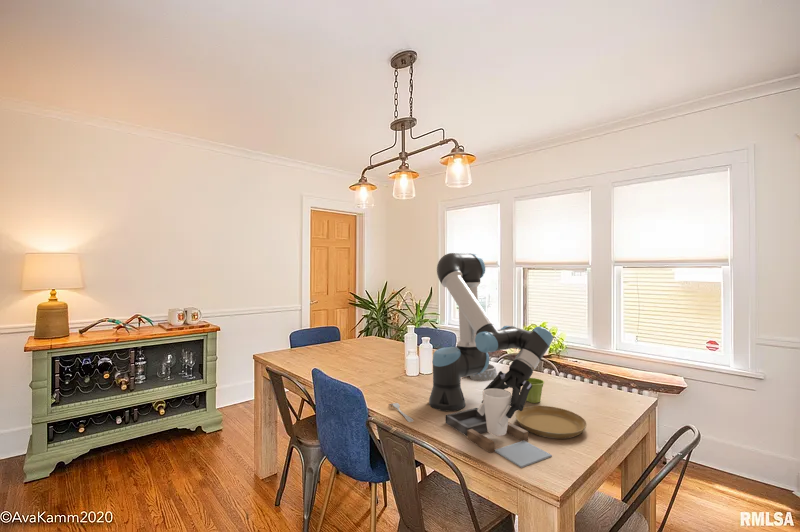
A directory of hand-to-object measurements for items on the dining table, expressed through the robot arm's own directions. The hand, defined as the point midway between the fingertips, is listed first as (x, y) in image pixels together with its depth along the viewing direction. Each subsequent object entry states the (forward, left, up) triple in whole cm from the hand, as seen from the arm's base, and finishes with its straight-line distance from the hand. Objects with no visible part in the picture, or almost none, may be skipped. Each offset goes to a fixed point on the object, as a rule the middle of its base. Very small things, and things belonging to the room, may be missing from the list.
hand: (489, 418), depth 123 cm
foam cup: (0, +3, -5) cm, 6 cm away
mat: (+11, +3, -8) cm, 14 cm away
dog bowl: (-60, +48, -8) cm, 77 cm away
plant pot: (-19, +42, -8) cm, 47 cm away
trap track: (-7, +3, -8) cm, 10 cm away
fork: (-37, -14, -8) cm, 40 cm away
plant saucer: (+2, +27, -8) cm, 28 cm away
